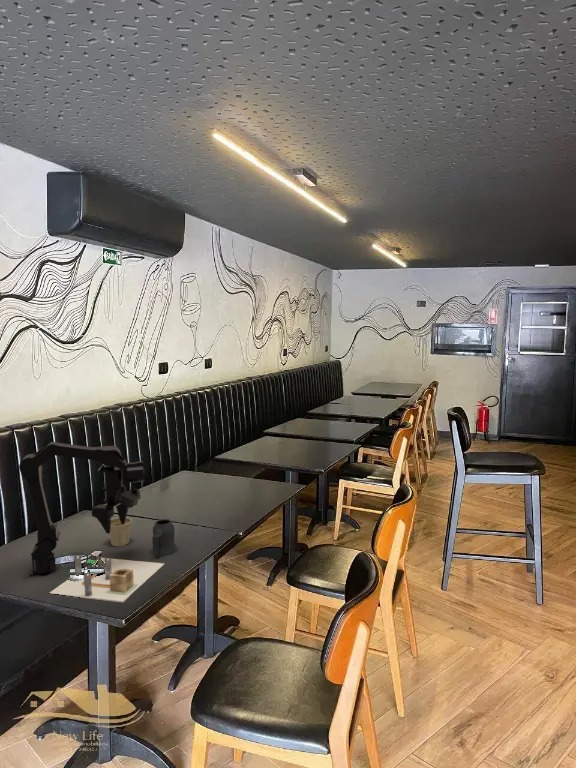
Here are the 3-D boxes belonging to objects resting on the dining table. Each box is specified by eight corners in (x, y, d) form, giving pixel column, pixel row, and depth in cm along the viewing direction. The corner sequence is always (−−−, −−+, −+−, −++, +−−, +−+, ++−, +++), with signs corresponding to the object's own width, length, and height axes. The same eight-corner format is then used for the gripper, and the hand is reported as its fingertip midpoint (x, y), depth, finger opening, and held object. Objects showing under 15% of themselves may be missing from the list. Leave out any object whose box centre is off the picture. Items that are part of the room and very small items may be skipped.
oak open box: (110, 591, 167) (109, 575, 167) (119, 583, 172) (118, 568, 171) (125, 592, 166) (124, 576, 165) (133, 585, 171) (132, 569, 170)
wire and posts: (85, 596, 164) (84, 575, 163) (74, 574, 179) (73, 555, 178) (118, 588, 169) (117, 568, 168) (105, 567, 184) (104, 549, 183)
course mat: (49, 594, 167) (49, 592, 167) (99, 558, 193) (99, 556, 193) (123, 602, 161) (123, 600, 161) (164, 564, 187) (164, 563, 187)
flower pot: (102, 544, 206) (101, 521, 205) (125, 537, 212) (124, 515, 212) (114, 551, 199) (113, 528, 198) (137, 543, 206) (136, 521, 205)
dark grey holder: (158, 546, 203) (156, 516, 202) (181, 547, 201) (180, 518, 200) (143, 559, 191) (141, 528, 190) (167, 561, 189) (166, 529, 188)
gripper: (119, 493, 176) (122, 540, 177) (148, 477, 194) (150, 520, 195) (89, 491, 178) (91, 538, 180) (120, 476, 196) (122, 518, 198)
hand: (115, 528), depth 188 cm, fingers open, 9 cm apart
